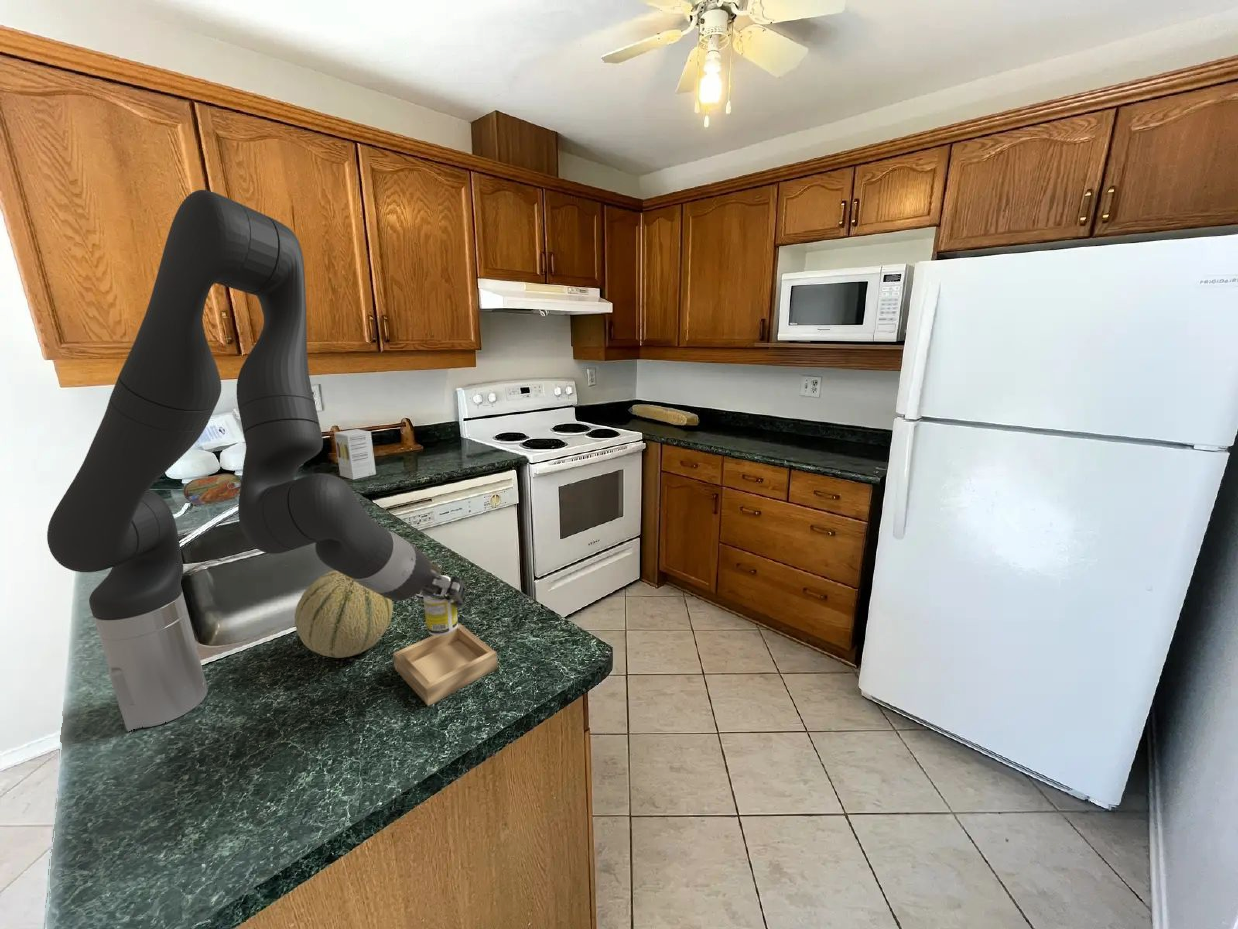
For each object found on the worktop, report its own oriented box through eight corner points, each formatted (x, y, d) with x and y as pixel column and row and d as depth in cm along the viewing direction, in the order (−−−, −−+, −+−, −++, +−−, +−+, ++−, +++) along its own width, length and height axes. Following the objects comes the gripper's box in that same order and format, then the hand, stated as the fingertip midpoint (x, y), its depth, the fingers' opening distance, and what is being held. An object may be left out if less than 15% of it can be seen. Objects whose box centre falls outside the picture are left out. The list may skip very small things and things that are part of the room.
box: (428, 706, 75) (426, 689, 74) (395, 669, 83) (392, 653, 82) (497, 668, 83) (496, 652, 82) (461, 638, 91) (459, 623, 90)
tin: (188, 508, 156) (182, 482, 154) (185, 506, 158) (179, 480, 155) (245, 495, 167) (240, 471, 165) (242, 494, 169) (237, 470, 167)
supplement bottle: (447, 616, 84) (443, 571, 82) (464, 626, 81) (459, 579, 79) (421, 629, 80) (415, 582, 78) (437, 640, 77) (432, 591, 75)
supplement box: (339, 475, 190) (332, 432, 185) (362, 470, 197) (357, 428, 193) (353, 480, 185) (347, 435, 180) (377, 474, 192) (371, 431, 188)
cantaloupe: (296, 645, 89) (281, 568, 85) (383, 615, 98) (373, 545, 94) (311, 689, 78) (295, 604, 74) (408, 652, 87) (398, 574, 83)
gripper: (444, 543, 67) (493, 582, 82) (354, 533, 71) (416, 572, 85) (425, 598, 64) (479, 628, 78) (331, 585, 67) (400, 617, 81)
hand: (446, 599), depth 81 cm, fingers closed on supplement bottle, 4 cm apart
